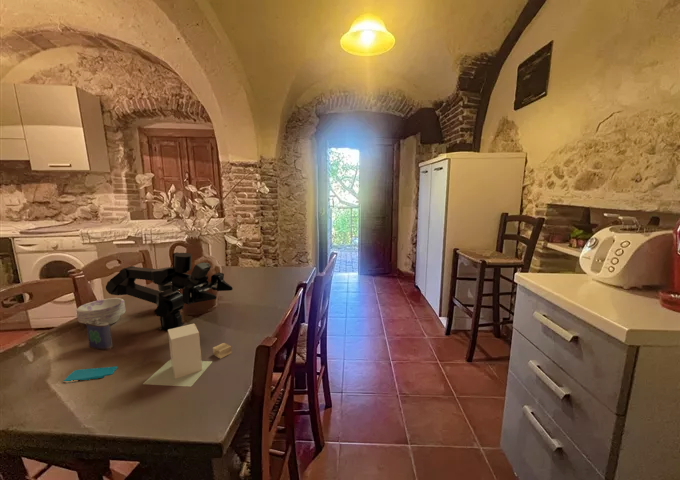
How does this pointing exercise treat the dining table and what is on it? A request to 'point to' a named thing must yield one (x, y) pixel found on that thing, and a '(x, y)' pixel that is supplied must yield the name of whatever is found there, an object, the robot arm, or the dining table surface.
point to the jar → (164, 287)
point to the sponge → (91, 373)
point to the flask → (99, 334)
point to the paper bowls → (102, 310)
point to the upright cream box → (185, 350)
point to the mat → (167, 376)
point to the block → (222, 350)
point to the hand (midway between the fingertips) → (224, 293)
